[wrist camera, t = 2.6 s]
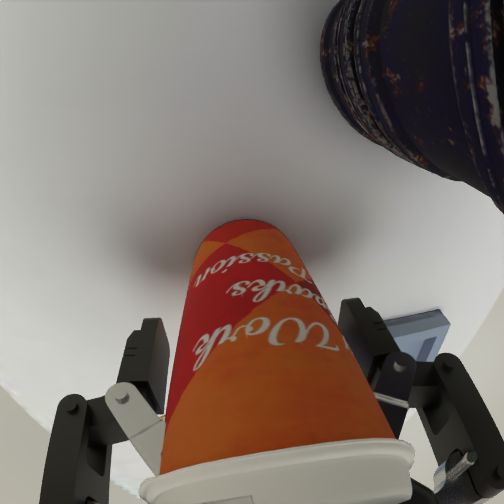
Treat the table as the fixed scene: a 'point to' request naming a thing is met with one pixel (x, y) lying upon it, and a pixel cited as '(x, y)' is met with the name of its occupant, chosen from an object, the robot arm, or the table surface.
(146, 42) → the table surface
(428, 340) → the tray
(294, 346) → the paper cup
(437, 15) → the storage jar
